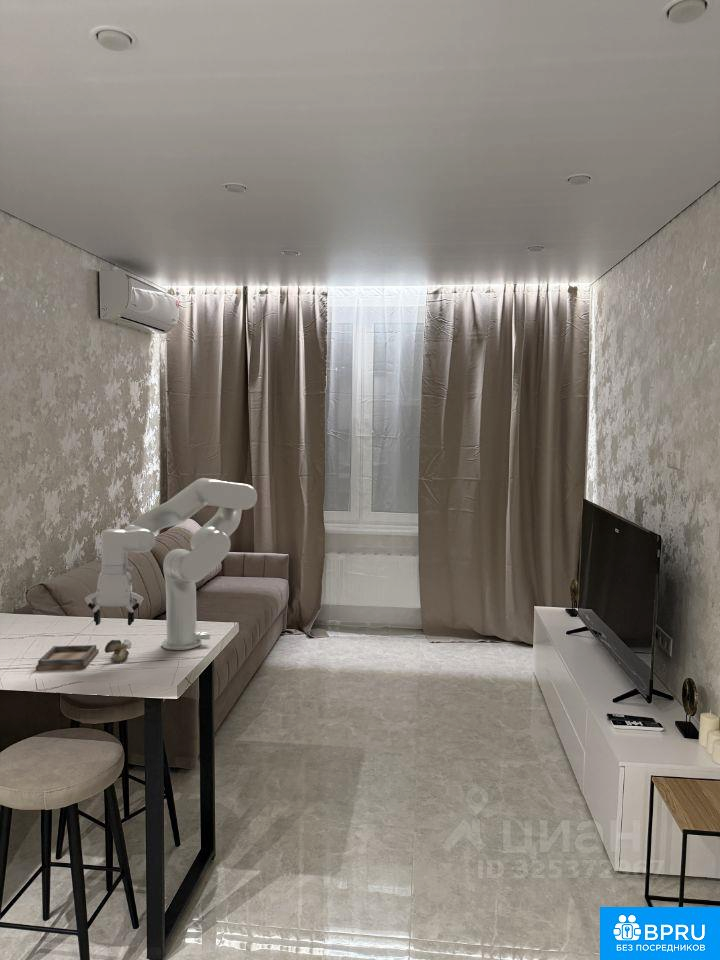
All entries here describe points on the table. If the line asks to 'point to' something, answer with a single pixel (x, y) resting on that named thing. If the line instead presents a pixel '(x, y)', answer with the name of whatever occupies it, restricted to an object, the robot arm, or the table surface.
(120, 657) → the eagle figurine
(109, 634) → the table surface
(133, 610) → the robot arm
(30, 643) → the table surface
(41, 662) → the wooden tray
